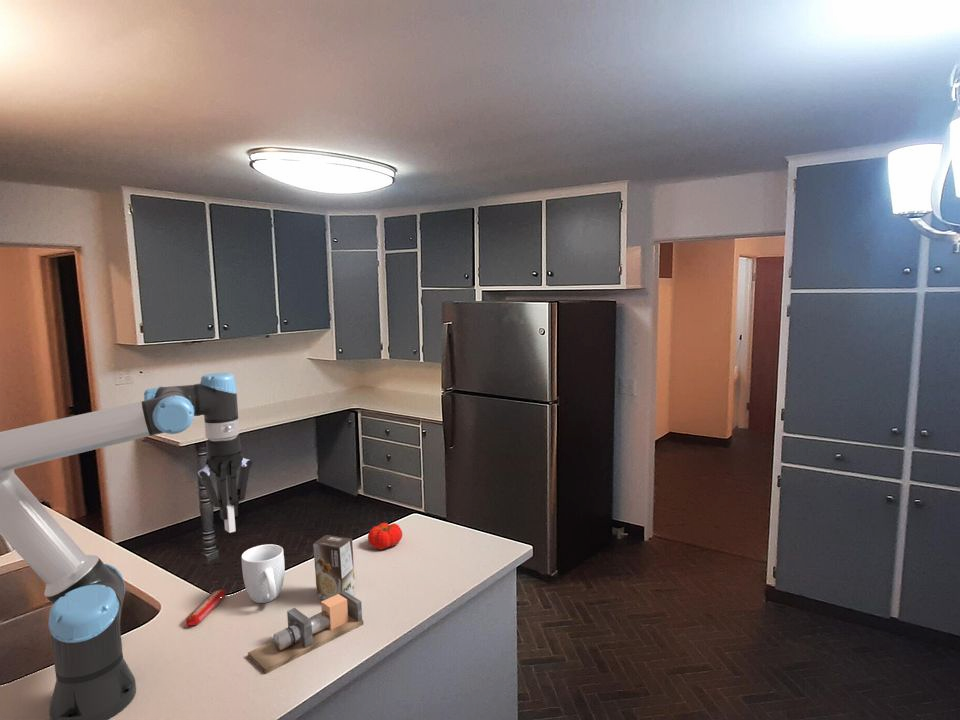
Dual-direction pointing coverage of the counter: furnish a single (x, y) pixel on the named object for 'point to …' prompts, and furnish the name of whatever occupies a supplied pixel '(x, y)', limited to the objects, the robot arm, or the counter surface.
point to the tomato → (384, 535)
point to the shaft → (294, 631)
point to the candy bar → (205, 608)
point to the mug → (263, 572)
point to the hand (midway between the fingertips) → (230, 530)
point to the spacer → (336, 610)
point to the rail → (306, 637)
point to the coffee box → (334, 566)
